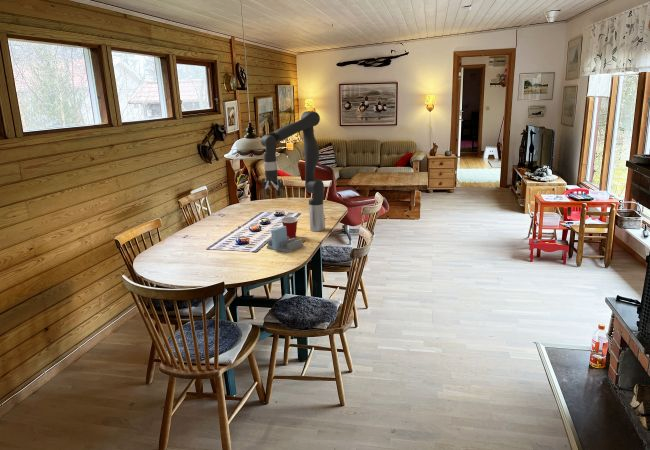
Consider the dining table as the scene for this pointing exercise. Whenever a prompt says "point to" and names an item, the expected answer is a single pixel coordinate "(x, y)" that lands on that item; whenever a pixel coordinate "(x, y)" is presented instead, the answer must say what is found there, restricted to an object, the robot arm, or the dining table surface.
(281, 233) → the rectangular block
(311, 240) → the dining table surface
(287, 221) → the plastic cup
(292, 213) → the dining table surface
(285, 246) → the dish rack
